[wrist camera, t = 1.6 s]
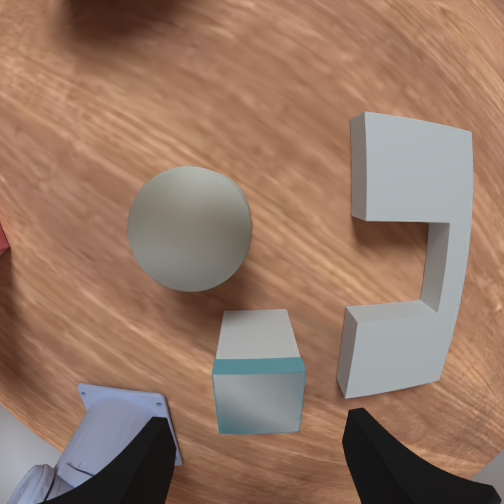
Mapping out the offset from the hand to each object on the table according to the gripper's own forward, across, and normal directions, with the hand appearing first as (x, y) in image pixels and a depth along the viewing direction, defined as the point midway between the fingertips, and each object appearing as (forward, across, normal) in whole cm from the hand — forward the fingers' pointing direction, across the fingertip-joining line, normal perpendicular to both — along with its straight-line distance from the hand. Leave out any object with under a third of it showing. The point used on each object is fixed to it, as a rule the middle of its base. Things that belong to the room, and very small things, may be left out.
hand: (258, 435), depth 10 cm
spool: (+10, +3, -7) cm, 12 cm away
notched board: (+10, -10, -4) cm, 15 cm away
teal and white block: (+10, 0, +1) cm, 10 cm away
